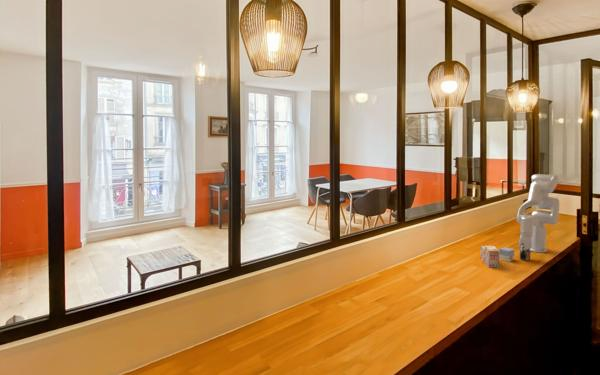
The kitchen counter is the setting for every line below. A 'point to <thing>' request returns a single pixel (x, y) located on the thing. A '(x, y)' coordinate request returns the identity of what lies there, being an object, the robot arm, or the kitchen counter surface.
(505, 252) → the tower top
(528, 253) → the walnut block
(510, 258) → the tower base
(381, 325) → the kitchen counter surface
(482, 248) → the stack of blocks
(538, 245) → the robot arm
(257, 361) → the kitchen counter surface
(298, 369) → the kitchen counter surface
